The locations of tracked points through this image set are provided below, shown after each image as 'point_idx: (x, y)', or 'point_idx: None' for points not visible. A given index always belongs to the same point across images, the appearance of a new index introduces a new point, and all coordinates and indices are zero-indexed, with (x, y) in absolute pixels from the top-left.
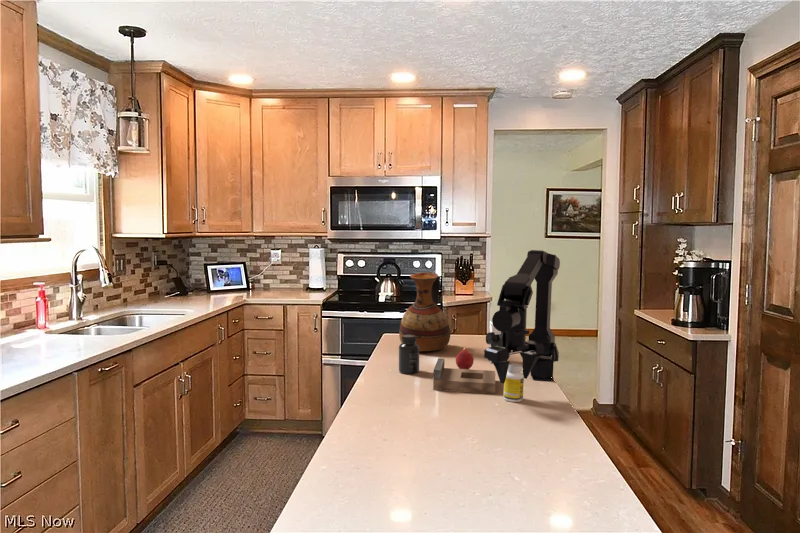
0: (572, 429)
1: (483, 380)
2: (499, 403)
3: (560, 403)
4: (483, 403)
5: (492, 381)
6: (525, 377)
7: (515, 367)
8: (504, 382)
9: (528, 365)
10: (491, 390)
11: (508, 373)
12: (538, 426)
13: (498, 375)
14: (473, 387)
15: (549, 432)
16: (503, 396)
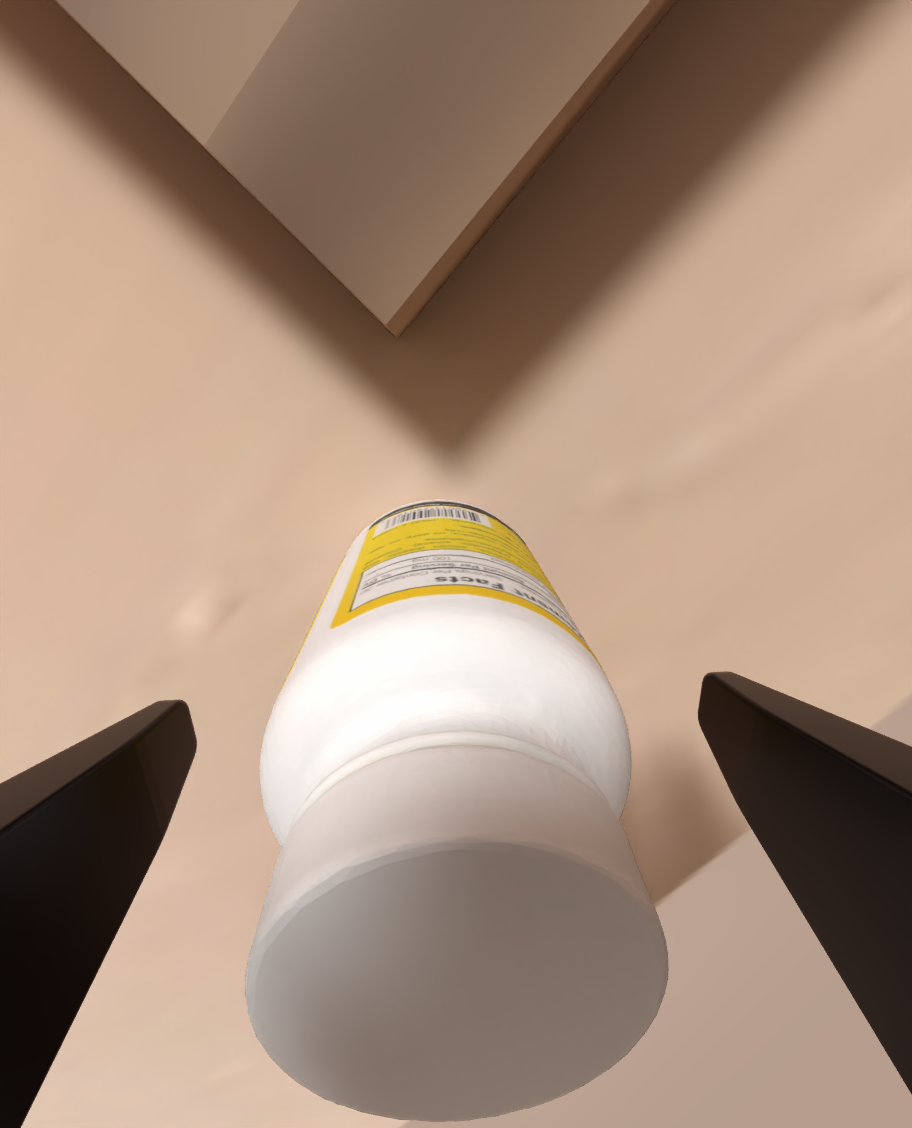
0: (352, 1110)
1: (317, 8)
2: (229, 614)
3: (702, 840)
4: (64, 535)
5: (429, 184)
6: (707, 721)
7: (343, 1098)
8: (303, 642)
9: (887, 976)
10: (356, 297)
11: (295, 812)
12: (195, 1032)
13: (25, 783)
14: (114, 59)
15: (195, 1096)
16: (353, 542)
